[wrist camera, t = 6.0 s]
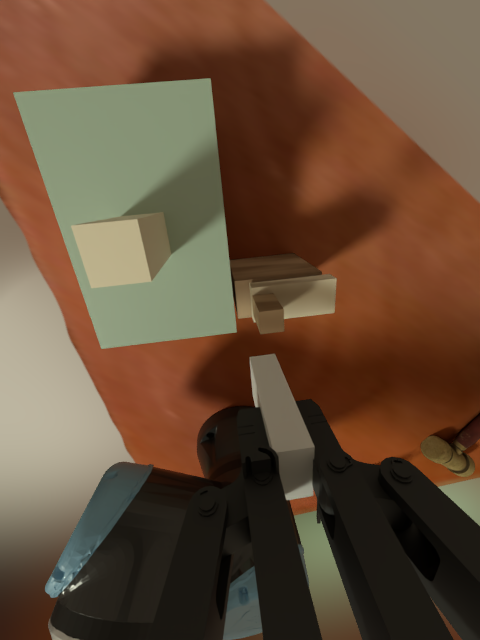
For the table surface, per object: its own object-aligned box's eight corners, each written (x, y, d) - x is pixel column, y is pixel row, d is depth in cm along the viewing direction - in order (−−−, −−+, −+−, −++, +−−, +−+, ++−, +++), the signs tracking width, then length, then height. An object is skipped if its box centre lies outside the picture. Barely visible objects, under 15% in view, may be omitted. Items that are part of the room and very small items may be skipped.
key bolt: (328, 306, 28) (353, 330, 23) (251, 316, 28) (260, 342, 23) (329, 274, 27) (357, 291, 22) (249, 283, 26) (258, 303, 21)
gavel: (523, 381, 46) (550, 405, 49) (495, 367, 50) (522, 390, 53) (433, 465, 50) (463, 482, 53) (415, 446, 55) (444, 462, 58)
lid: (235, 323, 31) (246, 385, 20) (108, 338, 30) (55, 411, 20) (210, 89, 22) (209, -7, 12) (31, 102, 21) (-135, 13, 11)
